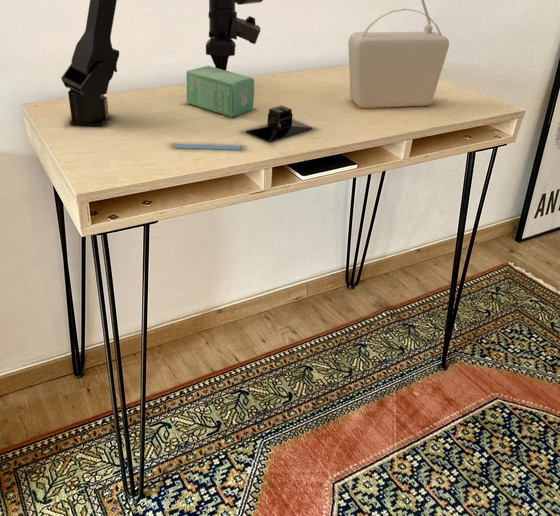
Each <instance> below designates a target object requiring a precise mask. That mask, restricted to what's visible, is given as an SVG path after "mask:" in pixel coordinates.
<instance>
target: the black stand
mask: <svg viewBox="0 0 560 516" xmlns="http://www.w3.org/2000/svg"><path fill="white" fill-rule="evenodd" d="M292 111H293V110H292V108H289V107H287V106H284V105H279V106H275V107H271V108H268V114H267V124H265V125H262V126H258V127H255V128H251V129H248V130H245V134H247V135H250V136H252V137H254V138H257V139H259V140H262V141H264V142H266V143H269V144H271V143H273V142H276V141H279V140H283V139H286V138H290V137H292V136H296V135H299V134H302V133H306V132H308V131H312V130H313V127H312V126H311V125H307V124H305V123H302V122H299V121H297V120H294V119H293V114H294V113H292Z"/></svg>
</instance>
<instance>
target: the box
mask: <svg viewBox="0 0 560 516" xmlns="http://www.w3.org/2000/svg"><path fill="white" fill-rule="evenodd" d="M254 101H255V79H254V78H253V77H251V76H247V75H243V74H240V73H237V72H234V71H233V72H232V71H230V70H227V69H226V70H222V69H218V68H216V67H215V66H212V65H205V66H202V67H201V66H200V67H197V68H193V69H188V70H186V103H187V104H188V105H192V106H196V107H198V108H202V109H204V110H207V111H211V112H214V113H218V114H220V115H223V116H227V117H230V118H234V117H238V116H239V115H243V114H245V113H247V112H250V111H252V110H253V109H254V108H253V107H254Z"/></svg>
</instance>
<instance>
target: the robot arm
mask: <svg viewBox="0 0 560 516" xmlns="http://www.w3.org/2000/svg"><path fill="white" fill-rule="evenodd" d="M263 1H264V0H208V7H209V8H208V19H209V21H208V22H209V25H208V26H209V28H208V29H209V30H208V38H209V39H208V40H207V41H206V44H205V55H206V56H210V58H211V60H212V62H213V64H214V67H215V68H218V69H222V70H226V71H227V68H228V62H229V58H230V57H233V56H236V47H237V44H236V42H235V40H238V38H239V39H240V38H241V39H243V40H245V41H247V42H248V43H250V44H253V45H256V44H257V40H258V38H259V35H260V34H261V27H260V26H259V25H258V24H256V18H255V17H253V16H251V15H249V16H247V17H246V18H245V19H244V18H239V17H238V12H237V11H236V5H238V6H241V5H250V4H261V3H262V2H263ZM117 2H118V0H89V5H88V12H87V17H86V25H85V30H84V33H83V34H82V36H81V37H80V39H79V40H78V42H77V43H76V45H75V47H74V50H73V54H72V57H71V62H70V65H69V66H68V68H67V69H66V71H64V73H63V75H61V78H60V79H61V81H62V83H63V86H64V87H65V88H67V89H69V90H68V92H67V94H68V96H67V97H68V101H69V102H68V103H69V107H70V108H69V110H70V116H71V120H70V121H69V122H68V123H69V125H70V126H92V127H96V126H97V127H102V126H104V124H105V122H106V121H107V120H108V118H109V115H110V114H109V104H108V97H107V96H105V95H106V94H107V93H108V89H109V86H110V85H109V84H110V81H111V80H112V79H113V78H114V77H113V76H114V75H115V73H117V72H118V68H117V64H118V61H119V58H120V50H118V49H115V48H113V45H112V40H111V38H112V31H113V27H114V26H113V24H114V20H115V13H116V8H117Z"/></svg>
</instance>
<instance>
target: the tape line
mask: <svg viewBox="0 0 560 516" xmlns="http://www.w3.org/2000/svg"><path fill="white" fill-rule="evenodd" d="M175 148H176V149H190V150H191V149H195V150H224V151H225V150H227V151H241V146H239V145H237V146H234V145H233V146H232V145H203V144H176V147H175Z"/></svg>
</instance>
